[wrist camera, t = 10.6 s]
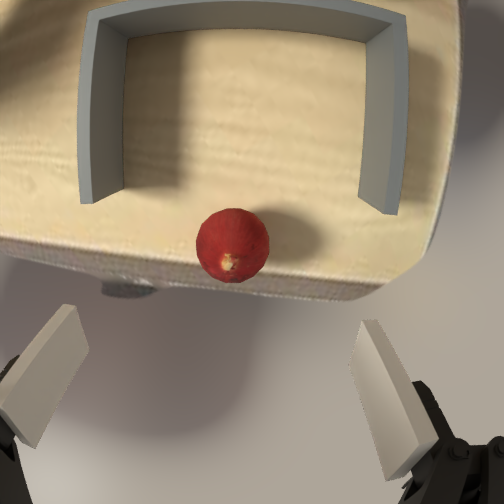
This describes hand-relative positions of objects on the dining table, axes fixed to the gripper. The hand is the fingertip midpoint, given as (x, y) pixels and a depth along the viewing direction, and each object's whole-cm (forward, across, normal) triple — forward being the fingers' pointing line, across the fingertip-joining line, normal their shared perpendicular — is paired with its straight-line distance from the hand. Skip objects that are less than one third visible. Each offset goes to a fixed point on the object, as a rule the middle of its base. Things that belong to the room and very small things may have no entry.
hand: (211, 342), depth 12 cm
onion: (+16, 0, 0) cm, 16 cm away
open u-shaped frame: (+16, 0, +12) cm, 20 cm away
